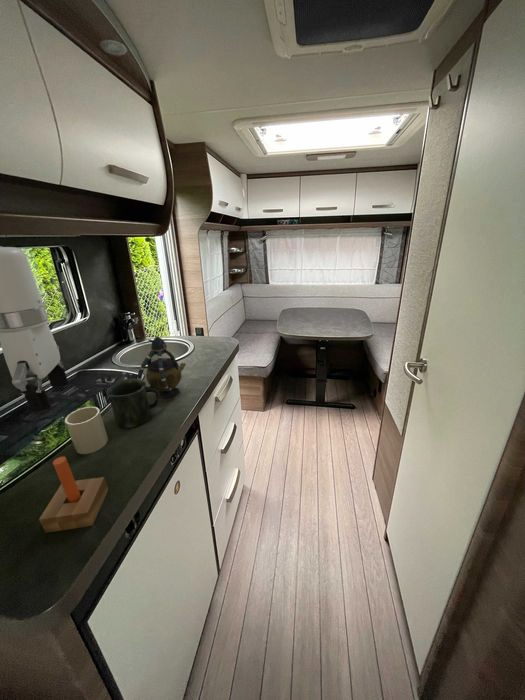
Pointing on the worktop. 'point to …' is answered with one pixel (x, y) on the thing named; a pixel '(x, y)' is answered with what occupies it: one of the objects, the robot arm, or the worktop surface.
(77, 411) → the cup
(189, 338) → the worktop surface
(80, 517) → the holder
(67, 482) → the orange rod
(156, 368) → the teapot
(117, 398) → the mug
